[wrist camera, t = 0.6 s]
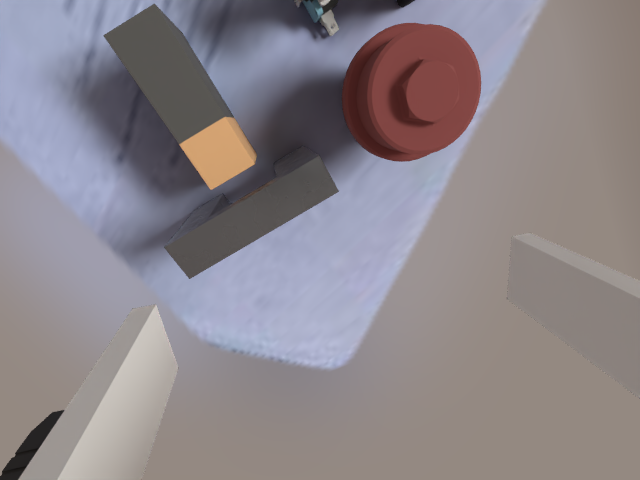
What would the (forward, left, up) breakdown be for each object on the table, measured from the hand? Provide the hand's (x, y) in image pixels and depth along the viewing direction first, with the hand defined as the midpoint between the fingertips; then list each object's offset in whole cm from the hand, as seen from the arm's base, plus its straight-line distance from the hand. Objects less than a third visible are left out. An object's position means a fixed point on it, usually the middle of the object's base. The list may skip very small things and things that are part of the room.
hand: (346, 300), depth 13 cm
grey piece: (-1, -4, -25) cm, 25 cm away
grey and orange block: (-10, -4, -25) cm, 27 cm away
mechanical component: (-3, +11, -25) cm, 28 cm away
